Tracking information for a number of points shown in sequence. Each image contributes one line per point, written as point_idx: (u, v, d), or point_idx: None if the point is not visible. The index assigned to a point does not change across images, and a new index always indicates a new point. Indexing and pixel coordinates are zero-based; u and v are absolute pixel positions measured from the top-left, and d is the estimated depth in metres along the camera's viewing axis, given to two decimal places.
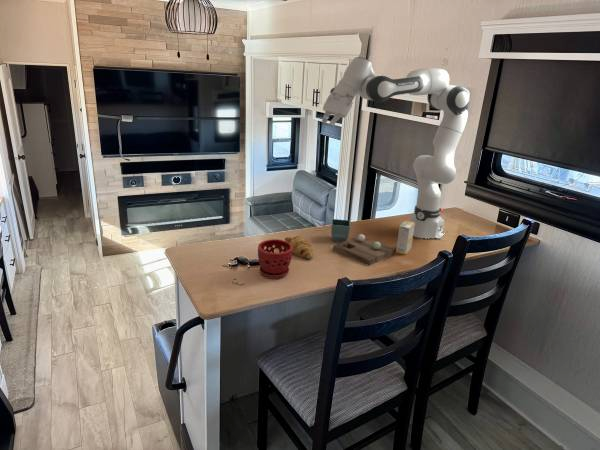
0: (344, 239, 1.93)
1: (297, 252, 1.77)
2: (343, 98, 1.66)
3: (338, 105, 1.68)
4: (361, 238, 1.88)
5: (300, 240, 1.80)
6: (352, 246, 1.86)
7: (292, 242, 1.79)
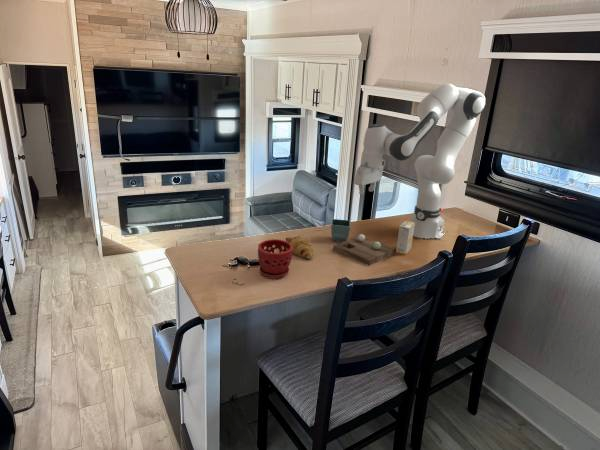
0: (344, 239, 1.93)
1: (298, 252, 1.77)
2: None
3: None
4: (361, 238, 1.88)
5: (300, 240, 1.80)
6: (352, 246, 1.86)
7: (292, 242, 1.79)
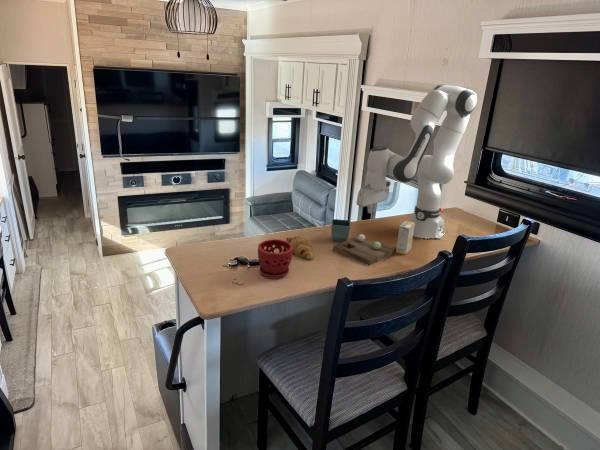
0: (344, 239, 1.93)
1: (298, 253, 1.77)
2: None
3: None
4: (361, 238, 1.88)
5: (301, 240, 1.80)
6: (352, 246, 1.86)
7: (292, 242, 1.79)
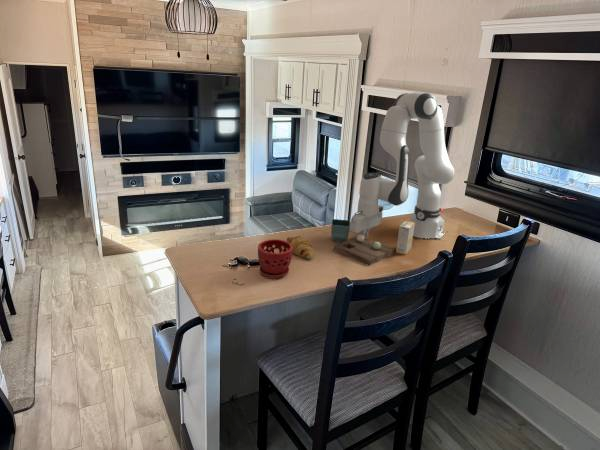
0: (344, 239, 1.93)
1: (298, 252, 1.77)
2: None
3: None
4: (360, 239, 1.88)
5: (301, 240, 1.80)
6: (352, 246, 1.86)
7: (293, 242, 1.79)
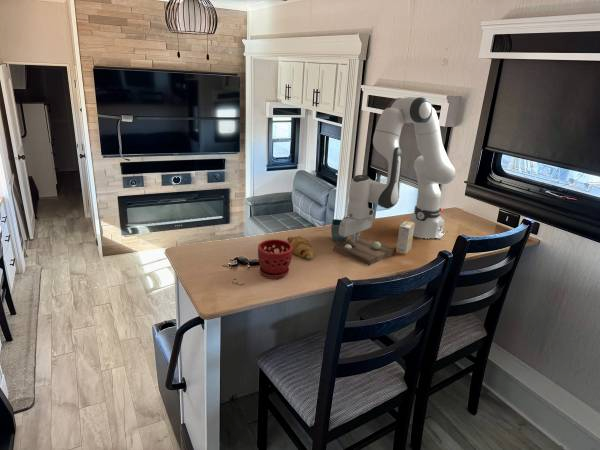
0: (344, 239, 1.93)
1: (298, 252, 1.77)
2: None
3: None
4: None
5: (301, 240, 1.80)
6: (352, 246, 1.86)
7: (293, 242, 1.79)
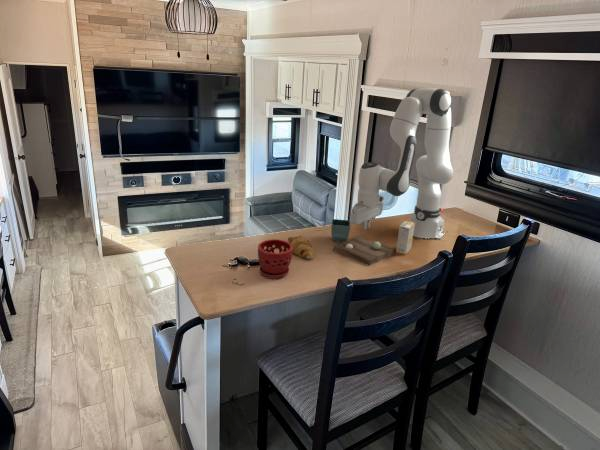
0: (344, 239, 1.93)
1: (298, 252, 1.77)
2: None
3: None
4: (349, 246, 1.83)
5: (301, 240, 1.80)
6: None
7: (293, 242, 1.79)
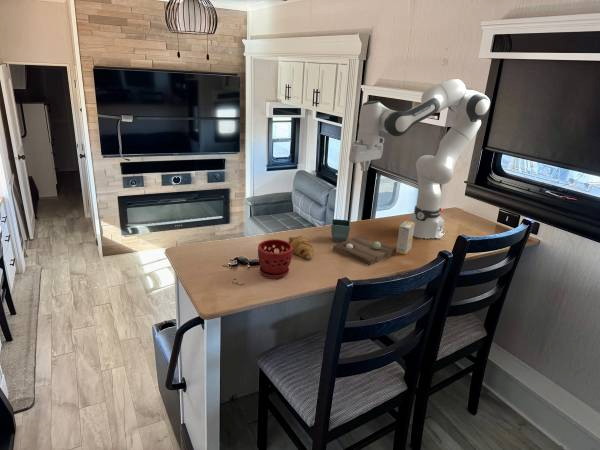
0: (344, 239, 1.93)
1: (298, 252, 1.77)
2: None
3: None
4: (350, 246, 1.84)
5: (302, 240, 1.80)
6: None
7: (293, 242, 1.79)
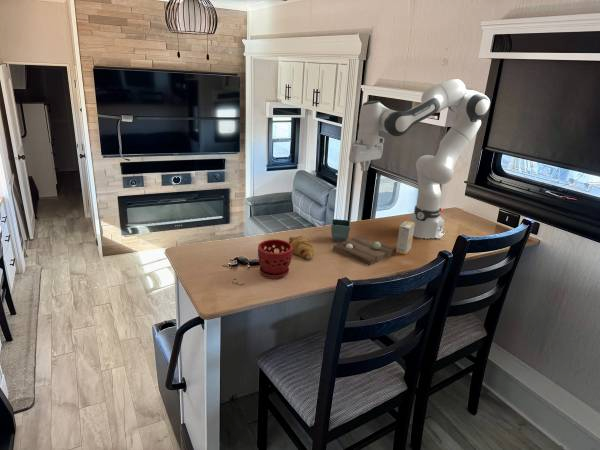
0: (344, 239, 1.93)
1: (298, 252, 1.77)
2: None
3: None
4: (349, 246, 1.83)
5: (302, 240, 1.80)
6: None
7: (294, 242, 1.79)
